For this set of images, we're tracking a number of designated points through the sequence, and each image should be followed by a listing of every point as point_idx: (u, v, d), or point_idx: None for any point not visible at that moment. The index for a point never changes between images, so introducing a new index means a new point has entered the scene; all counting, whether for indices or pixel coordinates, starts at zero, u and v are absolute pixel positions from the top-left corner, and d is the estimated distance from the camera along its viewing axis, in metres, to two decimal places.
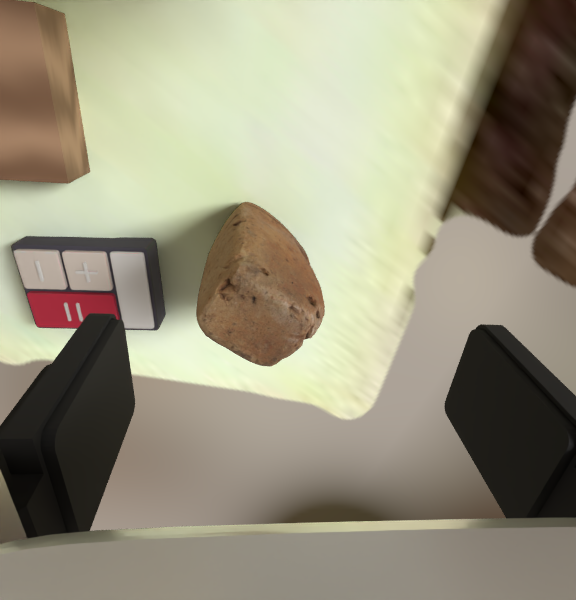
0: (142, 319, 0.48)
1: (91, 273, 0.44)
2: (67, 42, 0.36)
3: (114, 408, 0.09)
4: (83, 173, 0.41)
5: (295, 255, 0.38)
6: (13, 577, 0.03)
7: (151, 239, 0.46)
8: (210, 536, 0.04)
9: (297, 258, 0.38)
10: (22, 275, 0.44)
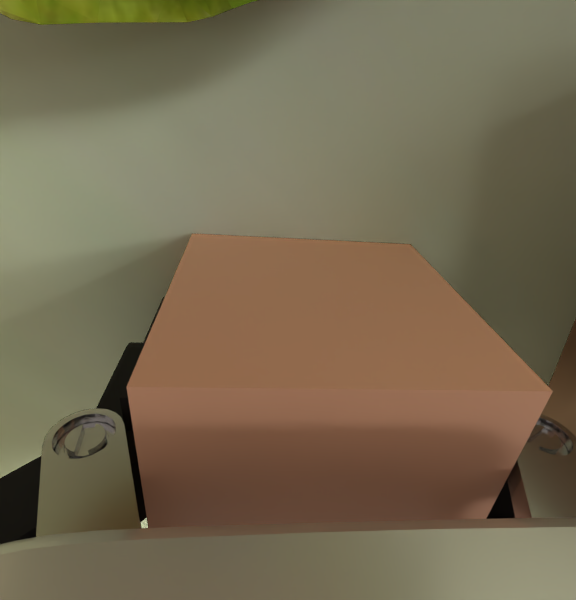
0: None
1: None
2: None
3: None
4: None
5: None
6: (14, 577, 0.03)
7: None
8: (211, 536, 0.04)
9: None
10: None
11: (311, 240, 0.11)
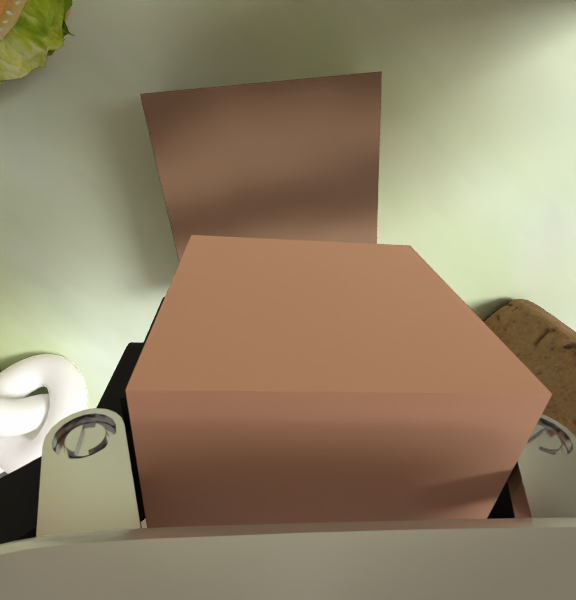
0: None
1: None
2: None
3: None
4: None
5: None
6: (13, 577, 0.03)
7: None
8: (210, 536, 0.04)
9: None
10: None
11: (311, 241, 0.11)
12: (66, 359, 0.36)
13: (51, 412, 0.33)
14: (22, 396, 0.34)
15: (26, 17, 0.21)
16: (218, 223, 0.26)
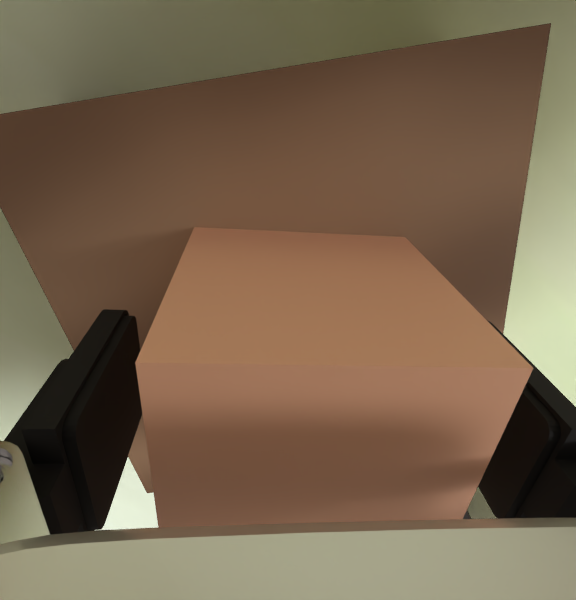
0: None
1: None
2: None
3: (127, 402, 0.09)
4: None
5: None
6: (13, 577, 0.03)
7: None
8: (210, 536, 0.04)
9: None
10: None
11: (309, 233, 0.11)
12: None
13: None
14: None
15: None
16: None
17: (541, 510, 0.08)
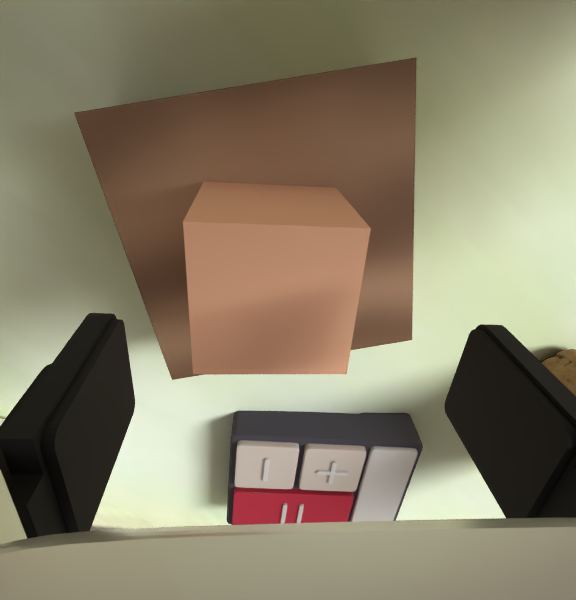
0: (379, 520, 0.34)
1: (337, 473, 0.31)
2: None
3: (114, 408, 0.09)
4: None
5: None
6: (14, 577, 0.03)
7: (408, 417, 0.33)
8: (211, 536, 0.04)
9: None
10: (238, 473, 0.30)
11: (275, 185, 0.18)
12: None
13: None
14: None
15: None
16: None
17: None
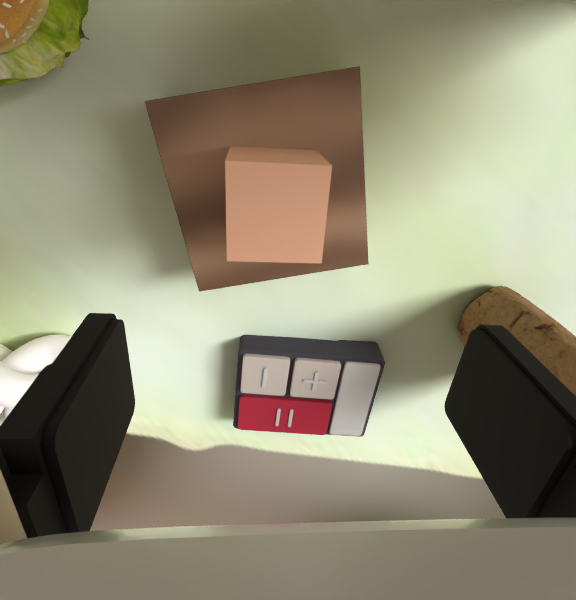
0: (352, 427, 0.44)
1: (319, 382, 0.40)
2: None
3: (114, 408, 0.09)
4: None
5: None
6: (13, 577, 0.03)
7: (376, 344, 0.42)
8: (210, 536, 0.04)
9: None
10: (243, 380, 0.40)
11: (277, 148, 0.27)
12: None
13: None
14: (34, 372, 0.37)
15: (47, 23, 0.24)
16: (220, 214, 0.29)
17: None
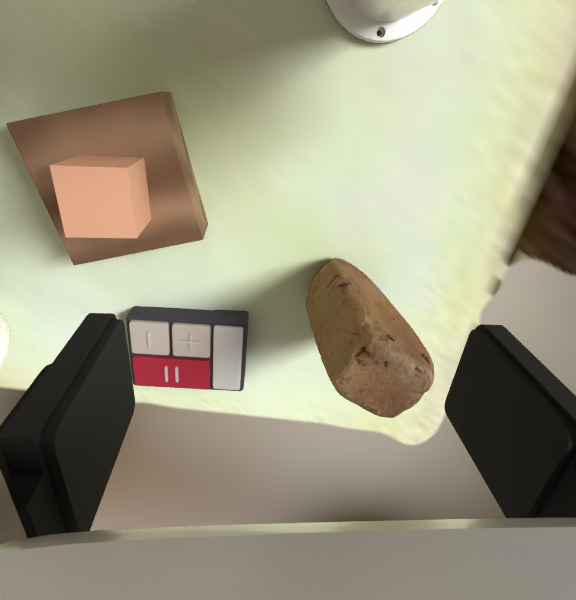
0: (230, 382, 0.53)
1: (194, 343, 0.50)
2: (176, 116, 0.40)
3: (114, 408, 0.09)
4: (206, 227, 0.45)
5: (394, 310, 0.42)
6: (14, 577, 0.03)
7: (245, 312, 0.52)
8: (210, 536, 0.04)
9: (396, 313, 0.42)
10: (132, 342, 0.49)
11: (113, 156, 0.37)
12: None
13: None
14: None
15: None
16: None
17: None
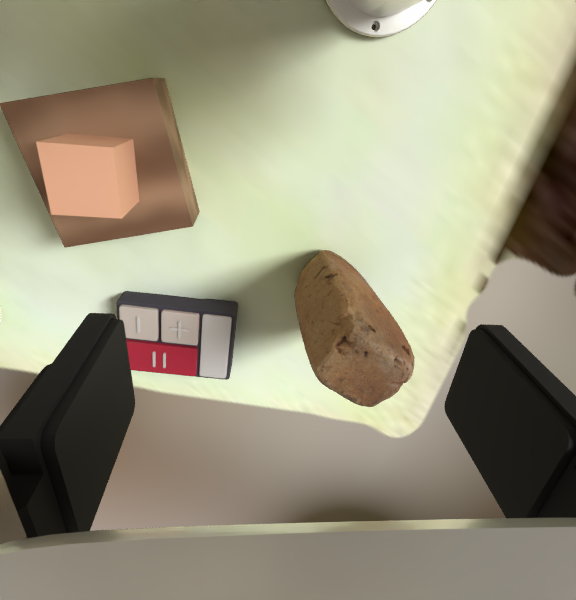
0: (217, 370, 0.54)
1: (183, 330, 0.51)
2: (170, 103, 0.41)
3: (114, 408, 0.09)
4: (197, 214, 0.45)
5: (379, 303, 0.43)
6: (13, 577, 0.03)
7: (235, 303, 0.53)
8: (210, 536, 0.04)
9: (381, 306, 0.43)
10: None
11: (102, 136, 0.37)
12: None
13: None
14: None
15: None
16: None
17: None
